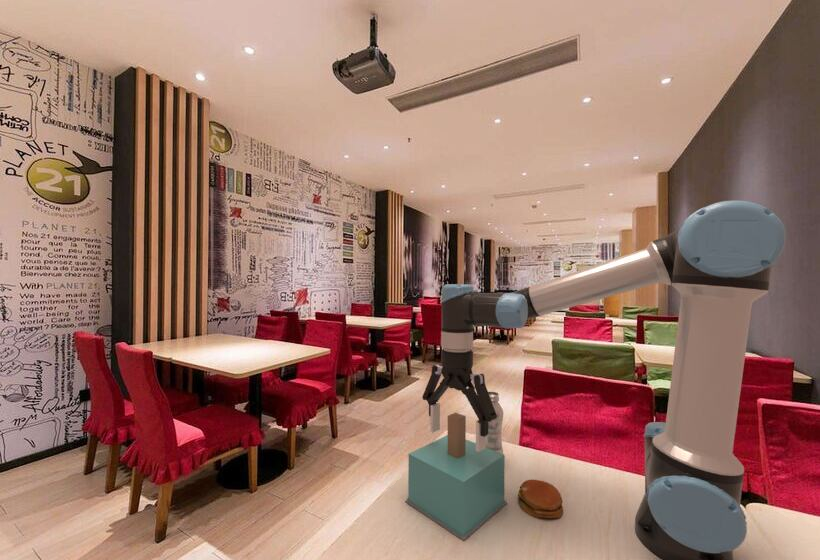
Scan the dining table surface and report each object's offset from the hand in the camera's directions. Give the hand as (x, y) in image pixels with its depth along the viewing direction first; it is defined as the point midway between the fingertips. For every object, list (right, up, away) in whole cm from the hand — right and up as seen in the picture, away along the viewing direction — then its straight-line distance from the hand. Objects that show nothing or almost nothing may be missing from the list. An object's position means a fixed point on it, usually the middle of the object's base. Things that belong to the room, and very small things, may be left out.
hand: (456, 439), depth 80 cm
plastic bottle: (+13, -15, +18) cm, 27 cm away
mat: (0, -15, 0) cm, 15 cm away
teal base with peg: (0, -14, 0) cm, 14 cm away
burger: (+19, -15, -1) cm, 25 cm away
